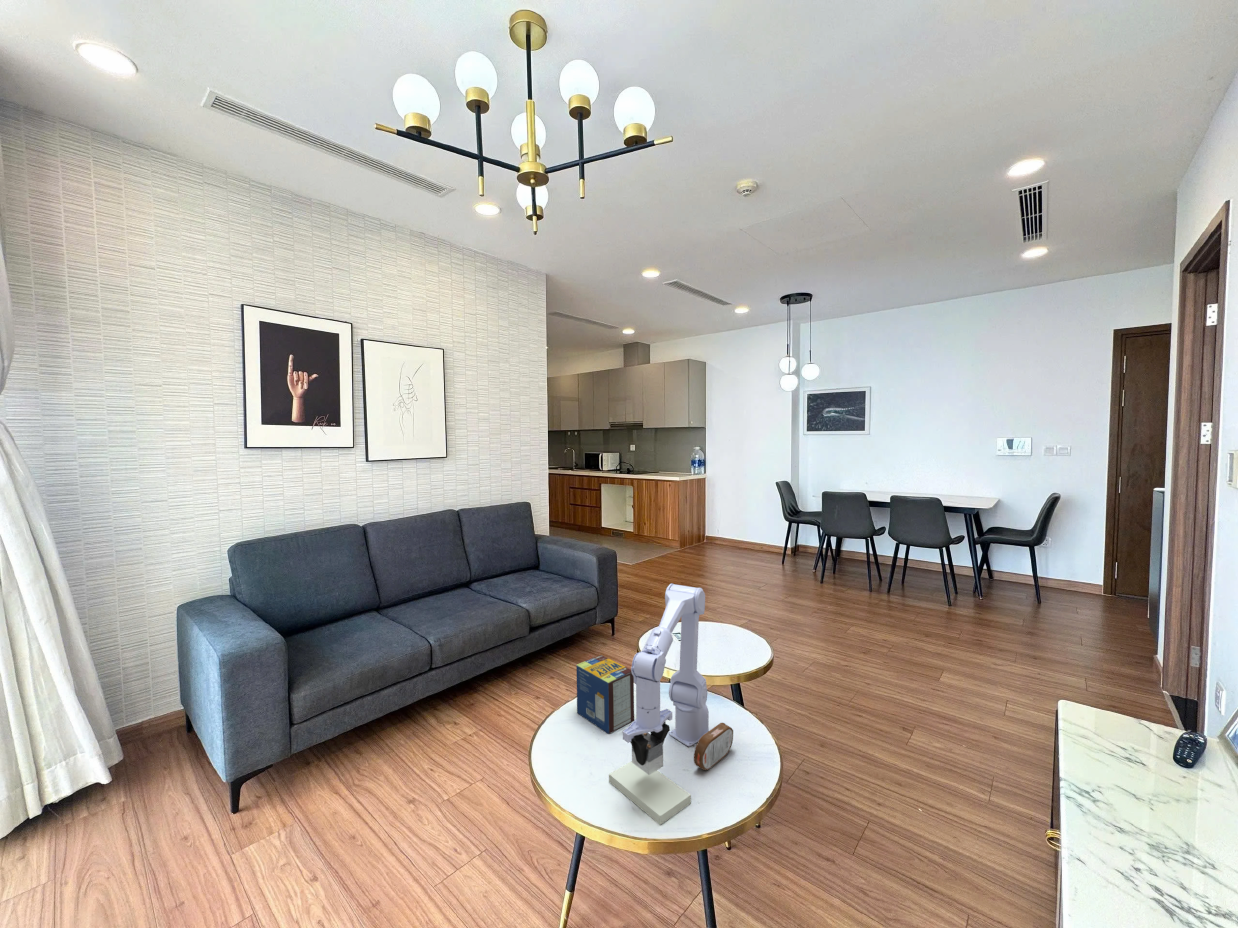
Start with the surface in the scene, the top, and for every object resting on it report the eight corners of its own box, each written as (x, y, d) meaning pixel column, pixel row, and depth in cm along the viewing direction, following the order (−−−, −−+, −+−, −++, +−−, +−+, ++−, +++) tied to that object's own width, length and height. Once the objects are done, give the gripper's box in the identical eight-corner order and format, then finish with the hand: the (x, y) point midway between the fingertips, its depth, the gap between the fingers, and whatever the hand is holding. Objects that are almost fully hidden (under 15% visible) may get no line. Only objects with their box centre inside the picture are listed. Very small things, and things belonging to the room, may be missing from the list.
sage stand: (638, 764, 129) (638, 756, 129) (690, 802, 116) (690, 794, 116) (609, 781, 123) (608, 773, 123) (660, 824, 109) (660, 816, 109)
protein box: (601, 700, 161) (601, 653, 160) (634, 720, 149) (634, 670, 148) (576, 713, 154) (575, 664, 153) (608, 734, 142) (608, 682, 141)
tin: (725, 745, 137) (725, 716, 136) (735, 750, 135) (735, 720, 134) (692, 772, 126) (692, 740, 126) (702, 778, 124) (702, 745, 124)
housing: (645, 754, 123) (645, 729, 123) (663, 766, 118) (662, 740, 118) (632, 762, 120) (631, 737, 120) (649, 774, 115) (648, 748, 115)
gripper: (636, 721, 110) (637, 780, 111) (681, 699, 120) (681, 753, 120) (616, 708, 116) (617, 764, 117) (660, 688, 125) (661, 740, 126)
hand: (648, 758), depth 119 cm, fingers closed on housing, 5 cm apart
